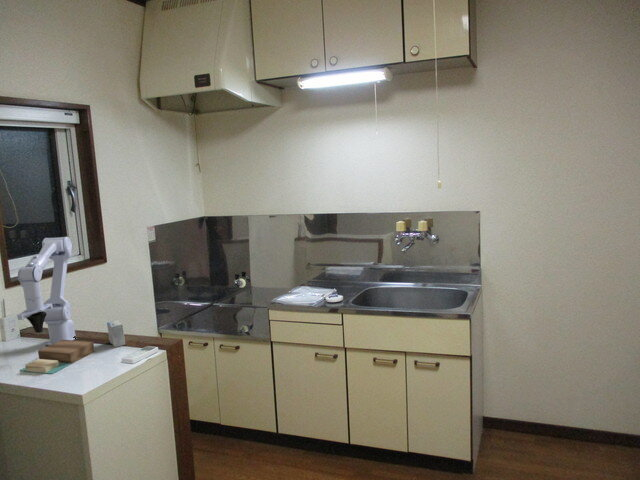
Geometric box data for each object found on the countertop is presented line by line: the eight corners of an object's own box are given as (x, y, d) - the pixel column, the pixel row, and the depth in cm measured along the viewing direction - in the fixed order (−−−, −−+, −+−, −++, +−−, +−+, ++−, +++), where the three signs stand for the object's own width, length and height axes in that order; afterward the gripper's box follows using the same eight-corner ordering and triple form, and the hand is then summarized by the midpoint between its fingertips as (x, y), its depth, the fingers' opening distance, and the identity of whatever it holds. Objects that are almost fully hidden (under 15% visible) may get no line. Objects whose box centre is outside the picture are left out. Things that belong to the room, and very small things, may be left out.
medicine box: (125, 344, 209) (123, 324, 208) (114, 347, 207) (111, 326, 205) (120, 339, 216) (118, 319, 214) (109, 342, 213) (106, 322, 212)
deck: (63, 349, 208) (62, 339, 208) (94, 351, 204) (93, 341, 203) (39, 361, 197) (37, 351, 197) (71, 363, 193) (69, 353, 192)
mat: (38, 361, 197) (38, 360, 197) (70, 364, 192) (70, 363, 192) (19, 370, 189) (19, 370, 189) (52, 374, 184) (52, 373, 184)
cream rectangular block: (25, 365, 188) (26, 370, 188) (45, 367, 185) (45, 372, 185) (38, 358, 193) (39, 364, 193) (58, 360, 190) (58, 365, 191)
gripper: (25, 303, 190) (31, 339, 192) (56, 292, 203) (61, 326, 206) (10, 303, 192) (16, 338, 194) (42, 292, 205) (47, 325, 208)
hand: (38, 332), depth 200 cm, fingers closed
